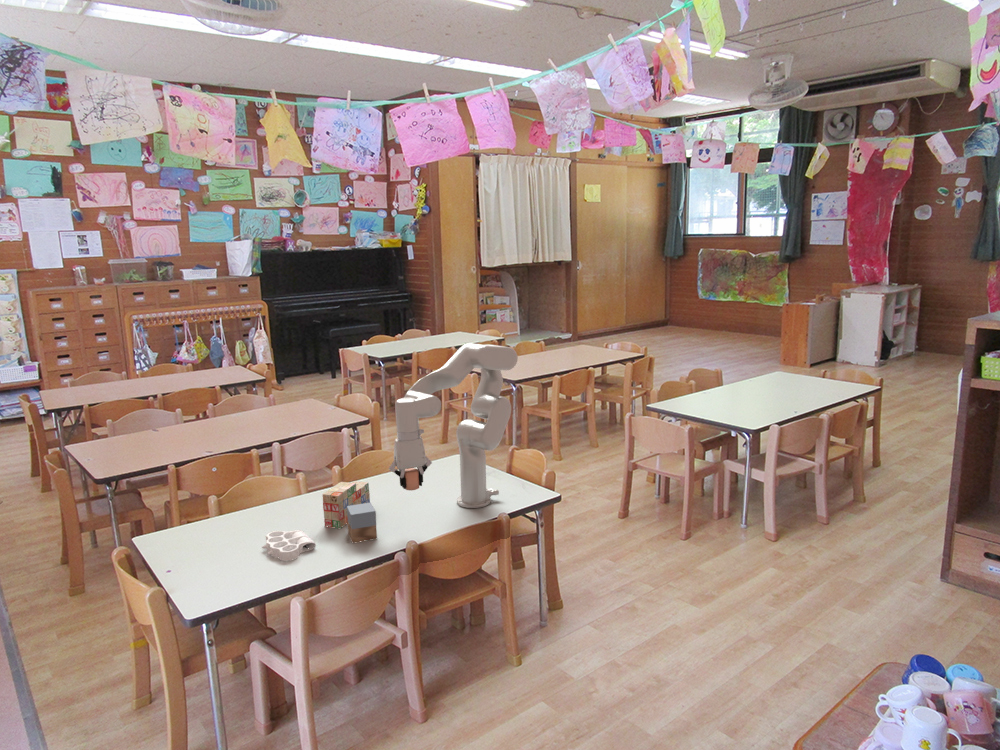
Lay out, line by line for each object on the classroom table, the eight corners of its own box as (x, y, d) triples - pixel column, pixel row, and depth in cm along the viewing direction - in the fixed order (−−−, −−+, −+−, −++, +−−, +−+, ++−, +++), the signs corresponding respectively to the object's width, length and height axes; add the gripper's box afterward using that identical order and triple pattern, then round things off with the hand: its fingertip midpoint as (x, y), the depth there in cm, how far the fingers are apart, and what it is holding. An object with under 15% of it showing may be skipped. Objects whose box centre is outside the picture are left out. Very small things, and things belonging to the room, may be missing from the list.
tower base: (371, 530, 237) (371, 516, 236) (377, 539, 230) (376, 525, 229) (348, 534, 234) (347, 520, 233) (352, 543, 227) (351, 529, 226)
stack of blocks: (355, 504, 260) (353, 472, 258) (370, 506, 258) (368, 474, 256) (324, 527, 240) (321, 493, 238) (340, 529, 238) (338, 495, 236)
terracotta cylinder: (417, 483, 239) (416, 467, 238) (421, 488, 235) (420, 472, 234) (402, 486, 238) (401, 469, 236) (406, 491, 233) (405, 474, 232)
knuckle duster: (319, 553, 221) (273, 566, 213) (299, 534, 236) (256, 545, 228) (319, 543, 221) (272, 556, 212) (299, 524, 235) (255, 536, 227)
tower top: (371, 516, 236) (370, 502, 235) (376, 525, 229) (375, 510, 228) (347, 520, 234) (346, 506, 233) (351, 529, 226) (351, 514, 225)
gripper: (429, 428, 239) (432, 478, 243) (380, 435, 232) (384, 486, 236) (436, 434, 232) (439, 485, 236) (386, 441, 226) (389, 494, 230)
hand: (411, 485), depth 236 cm, fingers closed on terracotta cylinder, 4 cm apart
